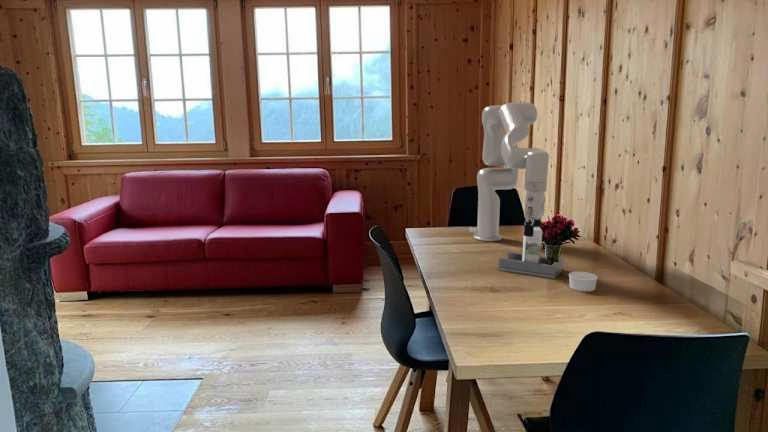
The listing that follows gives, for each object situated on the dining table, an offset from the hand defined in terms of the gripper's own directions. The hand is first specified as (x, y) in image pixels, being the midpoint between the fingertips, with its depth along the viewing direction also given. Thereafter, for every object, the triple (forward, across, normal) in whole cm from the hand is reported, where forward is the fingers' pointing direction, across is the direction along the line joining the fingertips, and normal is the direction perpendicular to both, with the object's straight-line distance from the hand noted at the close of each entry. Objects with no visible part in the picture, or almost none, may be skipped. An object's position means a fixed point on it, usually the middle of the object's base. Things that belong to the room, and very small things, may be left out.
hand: (532, 233), depth 195 cm
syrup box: (+13, -1, 0) cm, 13 cm away
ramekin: (+13, -12, -21) cm, 27 cm away
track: (+13, -1, -1) cm, 13 cm away
